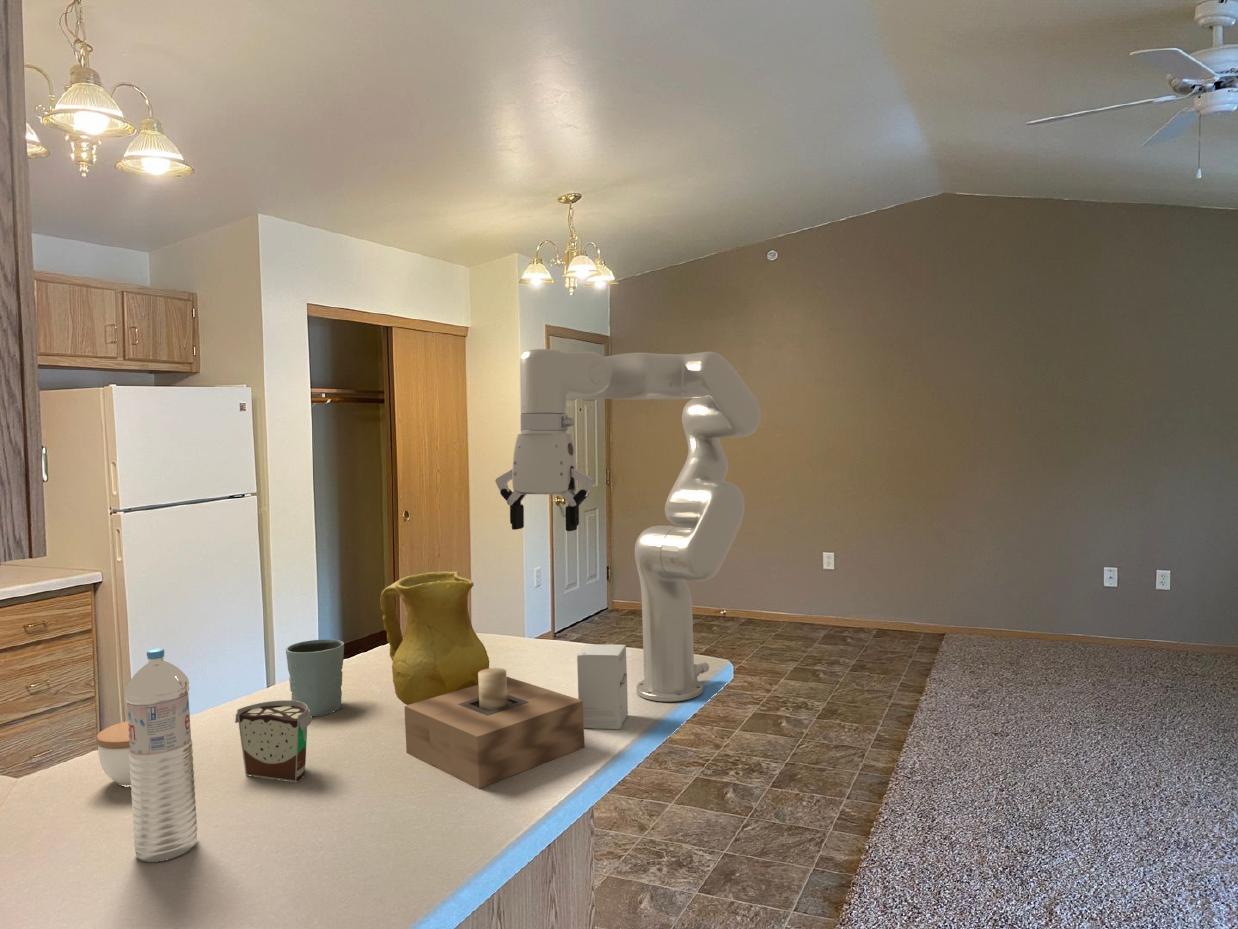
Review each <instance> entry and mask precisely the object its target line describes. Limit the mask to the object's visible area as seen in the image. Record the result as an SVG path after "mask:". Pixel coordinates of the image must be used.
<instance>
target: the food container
mask: <svg viewBox="0 0 1238 929" xmlns="http://www.w3.org/2000/svg"><path fill="white" fill-rule="evenodd" d="M312 722H313V717H311V713H310V710H309V708H308V707H307V705H306V704H305V703H303V702H299V701H292V700H291V699H290V700H289V699H288V700H287V699H286V700H284V699H283V700H282V699H281V700H272V701H271V700H270V701H265V702H264V701H263V702H258V703H253V704H250V705H247V706H243V707H241V708H238V709H237V710H236V714H235V719H234V723H235V724H238V728H239V736H240V743H241V750H242V751H241V752H242V758H243V765H244V774H245V776H246V775H251V776H256V777H255V778H259V777H263V778H262V779H266V778H268V779H267V780H274V779H280V780H279V781H282V780H287V781H286V782H289V781H291V783H298V782H299V781H301V780H302V779H303V778H304V777H305V775H306V761H307V758H306V757H307V740H308V739H307V736H308V726H310V725H311V724H312ZM251 776H250V777H251ZM302 777H303V778H302ZM300 779H301V780H300ZM297 781H298V782H297Z"/></svg>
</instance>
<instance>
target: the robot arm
mask: <svg viewBox="0 0 1238 929" xmlns="http://www.w3.org/2000/svg"><path fill="white" fill-rule="evenodd" d="M519 362H520V363H519V369H520V370H519V372H520V373H519V374H520V375H519V378H520V379H519V380H520V381H519V382H520V383H519V386H520V389H519V393H520V433H517V435H516V439H515V442H514V443H515V444H514V448H513V449H514V450H513V458H512V469H510V470H509V471H507V472H505V473H503V474H502V475H500V476H498V477H496V478H495V481H494V482H495V484H496V487H497V488H498V491H499V493H500V495H501V497H502V498H503V499H504V500H505V501H506V504H507V505H508V506H509V523H510V525H511V530H515V531H516V530H521V529H523V528H524V527H525V508H524V507H525V506H524V504H522V501H523V500H524V499H525V497H526V496H527V495H561V496H562V498H563V499H564V500H565V501H566V503H567V504H568V505H567V506H565V514H564V515H565V531H566V532H573V531H576V530H578V526H579V525H580V506H581V505H582V503H583V502H584V500H586V499H587V498H588V497H589V495H590V491H591V490H592V488H593V485H594V484H595V478H592V477H591V476H589V475H587V474H586V473H583V472H582V471H581V470H578V469H577V468H578V467H577V457H576V452H575V451H576V450H575V445H574V444H575V443H574V439H573V435H572V433H567V431H568V429H569V427H574V426H575V420H574V418H573V417H568V414H567V400H572V399H573V400H574V399H575V400H576V399H578V400H579V399H581V400H582V399H583V400H584V399H590V400H591V399H605V400H606V399H612V400H621V401H622V400H626V401H627V400H685V399H690V400H688V401H687V403H685V405H684V407H683V410H682V414H681V422H682V428H683V430H684V435H685V438H686V442H687V450H688V453H687V458H686V460H685V463H684V465H683V466H682V469H681V470H680V473H679V474H678V477H677V478H676V480H675V483H674V484H673V486H672V488H671V489H670V492H669V493H668V497H667V498H666V501H665V505H664V515H665V518H666V519H667V520H668V521H669V522H670V523H671V524H672V525H654V526H650V527H648V528H646V529H645V530H643V531H641V533H640V534H639V536H637V539H636V541H635V545H634V560H635V564H636V568H637V573H638V579H639V583H640V584H639V585H640V593H641V594H640V596H641V615H642V616H641V617H642V618H641V619H642V647H643V648H642V649H643V672H644V675H643V677H644V679H643V680H641V681H640V682H638V683H637V685H636V689H635V690H636V693H637V695H638V696H639V697H641V698H643V699H645V700H650V701H655V702H667V703H668V702H669V703H670V702H672V703H673V702H680V701H687V700H691V699H694V698H697V697H699V696H700V695H701V694H702V693H703V691H704V688H703V687H704V686H703V683H702V682H701V681H699V680H698V677H699V676H700V675H702V674H704V673H707V672H708V671H709V670H710V666H709V663H708V662H706V661H704V662H700V663H695V659H694V658H695V657H694V655H695V654H694V651H695V650H694V628H693V627H694V624H693V619H694V618H693V599H692V594H691V590H690V587H689V585H688V582H687V581H695V582H706V581H709V580H711V579H712V578H714V577H715V576H716V575H717V574H718V573H719V571H720V569H721V568H722V565H723V564H724V562H725V559H726V558H727V556H728V553H729V551H730V549H731V547H732V545H733V543H734V541H735V538H736V537H737V534H738V532H739V530H740V528H741V525H742V523H743V519H744V515H745V506H746V504H745V498H744V495H743V493H742V491H741V489H740V488H739V486H737V485H736V484H734V482H733V483H732V482H730V481H727V480H726V477H727V474H728V470H729V462H728V461H729V460H728V458H727V455H726V453H725V451H724V448H723V445H722V442H721V440H720V439H722V438H723V439H724V438H725V439H726V438H744V437H748V436H750V435H752V434H753V433H755V432H756V431H757V429H758V428H759V426H760V423H761V419H762V418H761V416H762V414H761V408H760V405H759V402H758V401H757V399H756V397H755V395H754V393H753V392H752V391H751V390H750V388H749V387H748V385H747V384H746V382H745V381H744V380H743V378H742V377H741V375H740V374H739V373H738V372H737V370H736V369H735V368H734V367H733V366H732V364H731V363H730V362H729V361H728V360H727V359H726V358H725V357H724V356H722V355H721V354H720V353H718V352H715V351H702V352H695V353H684V354H683V353H681V354H679V353H678V354H674V353H673V354H672V353H651V352H629V353H628V352H627V353H626V352H625V353H620V354H613V355H608V356H607V355H606V356H603V355H602V354H600V353H598V352H595V351H590V350H589V351H587V350H585V351H584V350H583V351H575V352H574V351H571V352H570V351H568V352H567V351H566V352H565V351H564V352H563V351H560V350H557V349H549V348H534V349H529V350H525V351H524V352H523V353H522V354H521V355H520V360H519ZM510 481H512V482H511V483H512V489H513V491H512V490H511V489H510V488H509V485H508V483H509V482H510ZM578 481H579V482H580V483H581V487H580V489H579V491H578V492H576V491H577V489H578ZM674 525H675V526H674Z"/></svg>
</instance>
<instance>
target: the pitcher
mask: <svg viewBox="0 0 1238 929" xmlns="http://www.w3.org/2000/svg"><path fill="white" fill-rule="evenodd" d="M473 587H474V582H473V581H472V580H471V579H468V578H465V577H462V576H460V572H459V571H430V572H425V573H418V574H413V575H408V576H405V577H402V578H399V580H397V581H395V582H393V583H392V584H391V585H389V586H386V587H385V588H384V589H382V591H381V592H380V593H381V594H380V598H379V603H380V611H381V612H382V613H383V615H382V621H383V629H384V631H385V632H386V641H387V643H388V645H389V657H390V659H391V661H392V662H391V663H392V664H391V669H392V670H391V671H392V672H391V673H392V682H393V686H394V691H395V692H394V693H395V696H396V697H397V698H398V700H399V701H401V702H402V703H403V704H404V705H405V706H406V705H410V704H413V703H417V702H420V701H424V700H427V699H430V698H434V697H437V696H441V695H444V694H448V693H451V692H455V691H458V690H462V689H465V688H469V687H472V686H475V685H479V682H478V672H479V671H481V670H484V669H489V668H490V658H489V656H488V651H487V650H486V647H485V646H484V643H483V642H482V641H481V640H480V638H479V637H478V635H477V633H476V632H475V630H474V628H473V625H472V622H471V618H470V612H469V608H468V597H469V592H470V590H471V589H472V588H473ZM396 596H398V597H400V598H401V600H402V601H403V603H404V606H405V609H406V613H407V614H406V615H407V616H406V628H405V632H404V636H403V634H402V630H401V627H400V623H399V618H398V614H397V609H396Z"/></svg>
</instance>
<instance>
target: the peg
mask: <svg viewBox="0 0 1238 929" xmlns="http://www.w3.org/2000/svg"><path fill="white" fill-rule="evenodd" d="M507 677H508V676H507V670H506V669H505V668H502V667H489V669H484V670H481V671H479V672H478V682H479V706H480V708H481V709H484V710H486V711H493V710H496V709H499V708H502V707H505V706H508V702H507Z"/></svg>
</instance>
